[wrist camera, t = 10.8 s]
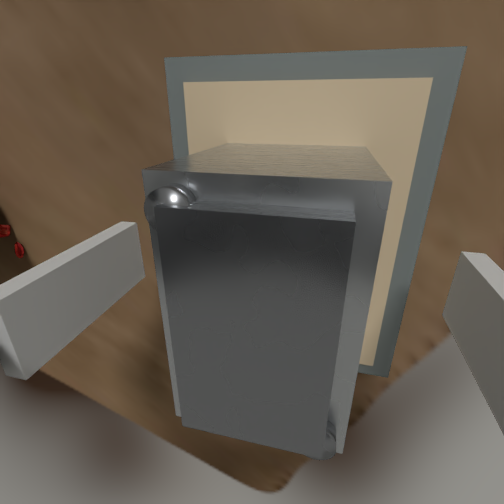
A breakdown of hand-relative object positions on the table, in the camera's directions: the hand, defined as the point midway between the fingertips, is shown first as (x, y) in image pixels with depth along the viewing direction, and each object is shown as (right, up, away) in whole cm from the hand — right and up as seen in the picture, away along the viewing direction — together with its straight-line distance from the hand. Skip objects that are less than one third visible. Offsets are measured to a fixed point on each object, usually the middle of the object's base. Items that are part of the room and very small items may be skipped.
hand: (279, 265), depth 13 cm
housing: (+1, +1, +2) cm, 3 cm away
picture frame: (+2, +2, +5) cm, 6 cm away
